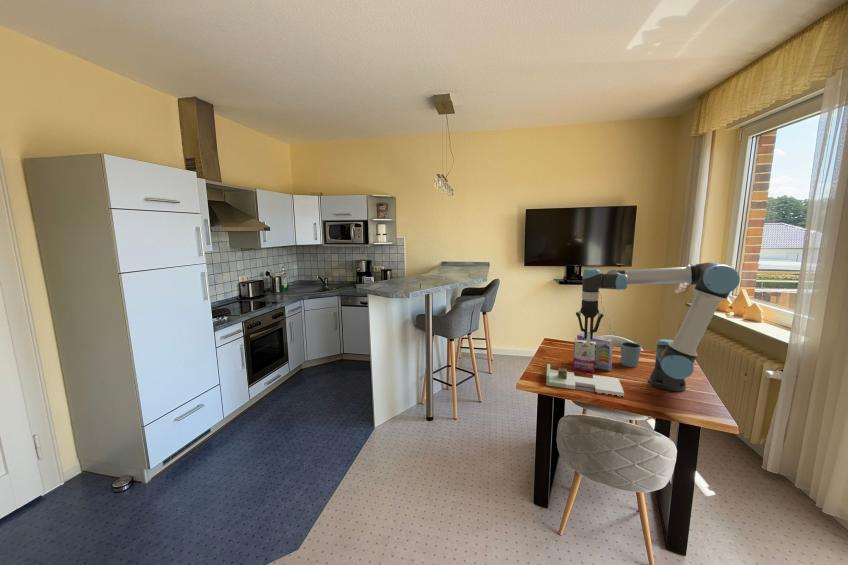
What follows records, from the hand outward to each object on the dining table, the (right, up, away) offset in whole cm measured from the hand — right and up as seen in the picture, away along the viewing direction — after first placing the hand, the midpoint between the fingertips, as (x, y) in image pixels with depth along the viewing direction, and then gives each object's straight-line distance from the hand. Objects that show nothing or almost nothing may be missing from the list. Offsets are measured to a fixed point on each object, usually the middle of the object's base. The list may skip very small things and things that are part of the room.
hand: (588, 344), depth 174 cm
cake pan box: (+13, -16, +22) cm, 30 cm away
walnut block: (-12, -17, +2) cm, 21 cm away
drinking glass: (+35, -16, +24) cm, 45 cm away
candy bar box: (+6, -17, +17) cm, 25 cm away
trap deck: (-3, -20, -1) cm, 20 cm away
